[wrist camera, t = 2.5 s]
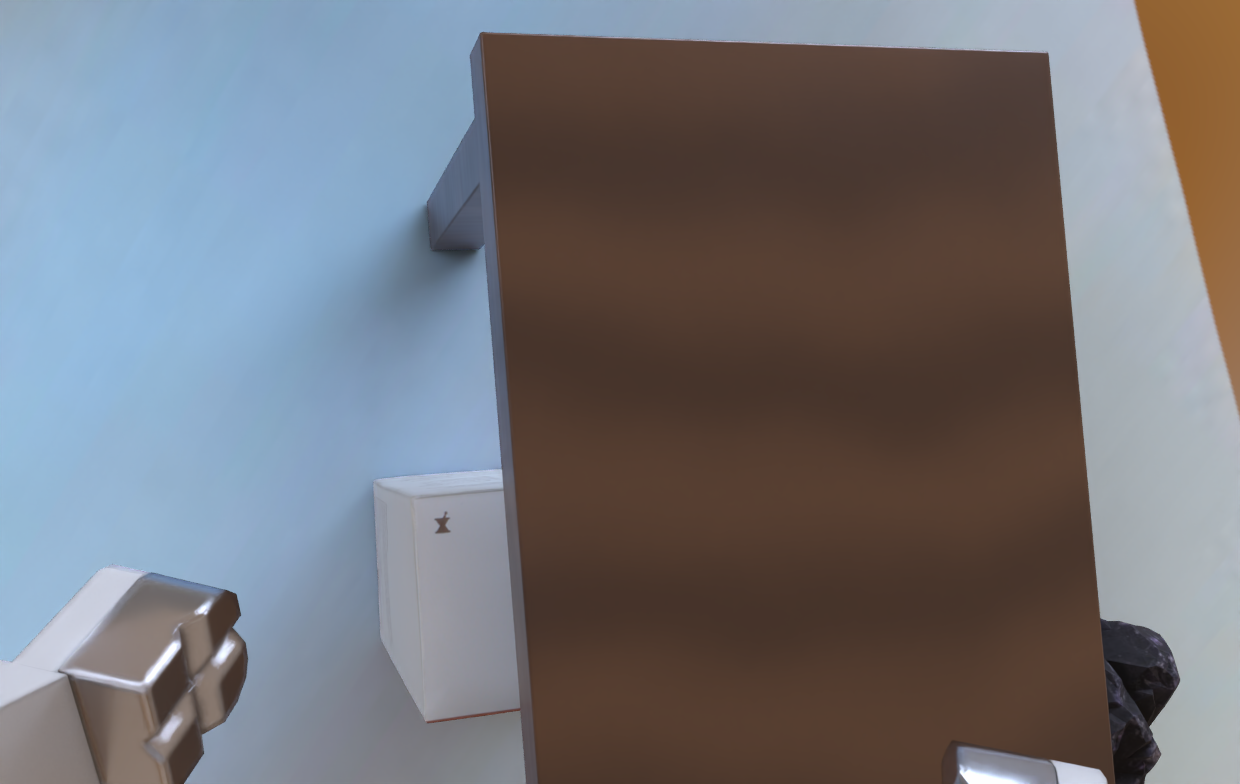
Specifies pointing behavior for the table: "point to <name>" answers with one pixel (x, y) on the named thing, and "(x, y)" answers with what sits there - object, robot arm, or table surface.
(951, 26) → the table surface
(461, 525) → the small box
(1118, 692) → the crystal cluster
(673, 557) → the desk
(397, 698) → the table surface
